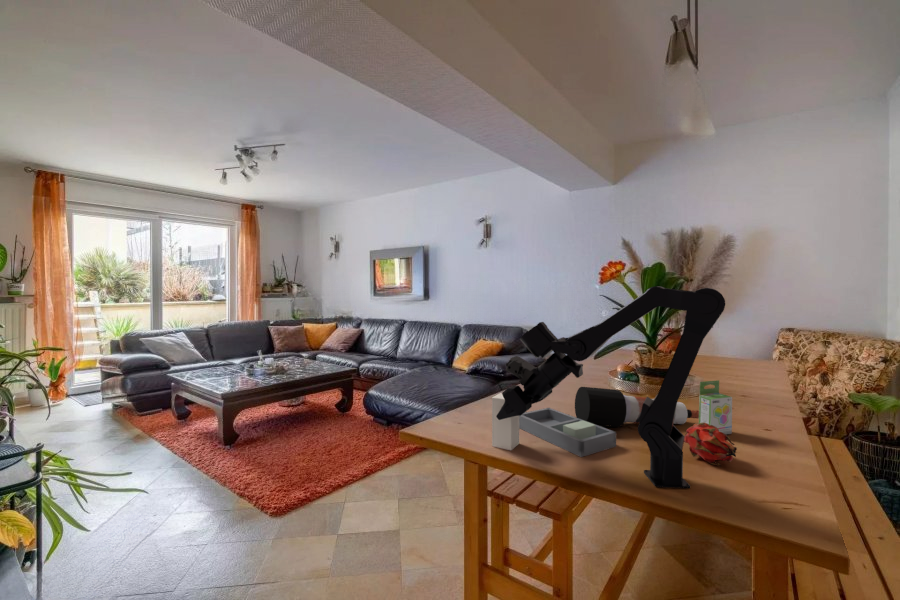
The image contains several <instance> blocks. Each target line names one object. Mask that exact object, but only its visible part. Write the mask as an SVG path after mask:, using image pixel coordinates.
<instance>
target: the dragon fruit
mask: <svg viewBox="0 0 900 600" xmlns="http://www.w3.org/2000/svg"><path fill="white" fill-rule="evenodd" d="M685 431H686V434H684V437H685V438H684V443H686V444H687V445H689V447H688V449H689V452H690V453H691V456H692V457H697V456H700V457H701V458H702V459H703V460H704V461H705V462H707V463H708V464H710V465H713V466H722V465H721V464H720V463H719V462H716V461H722V462H728V463H731V462H732V461H733V460H734V458H737V456H736V453H738V454H739V453H740V452H737V450H738V447H736V446H735V443H734V442H732V441H731V439H732V438H730V436H728V434H724V433H722V432H719V429H718V428H717V427H715V426H713V425H709V424H707V423H705V422H702V423H700V424H699V422H695V423H694V424H692V426H691V425H690V427H688V428H687V429H686V430H685Z"/></svg>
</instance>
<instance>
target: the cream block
mask: <svg viewBox="0 0 900 600" xmlns="http://www.w3.org/2000/svg"><path fill="white" fill-rule="evenodd" d="M502 393H503V392H499V393H498V394H495V396H492V397H491V446H492V447H494V448H498V449H502V450H507V451H513V450H514V449H515V448H516V447H517V446H518V445H519V444H520V428H519V416H514V417H509V418H505V419H501V420H498V418H497V417H496V416H497V414H498V413H499V411H500V409H501V408H502V406H503V404H504V402H505V399H504V397H503V395H502Z"/></svg>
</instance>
